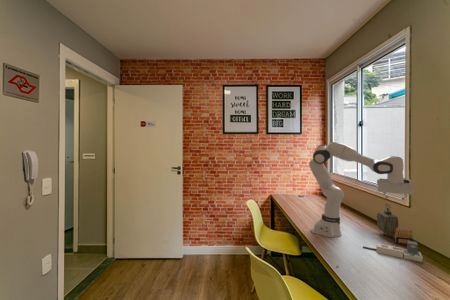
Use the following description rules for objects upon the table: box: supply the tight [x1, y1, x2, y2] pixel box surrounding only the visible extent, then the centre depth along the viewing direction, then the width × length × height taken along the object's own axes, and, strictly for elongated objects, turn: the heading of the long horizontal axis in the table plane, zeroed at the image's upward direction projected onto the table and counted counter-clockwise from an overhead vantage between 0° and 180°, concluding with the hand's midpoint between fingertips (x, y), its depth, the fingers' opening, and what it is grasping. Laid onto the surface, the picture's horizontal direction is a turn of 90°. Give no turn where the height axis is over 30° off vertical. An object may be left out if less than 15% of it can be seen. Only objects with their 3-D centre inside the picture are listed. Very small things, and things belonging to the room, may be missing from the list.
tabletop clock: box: [376, 203, 399, 240], centre depth 182 cm, size 14×9×25 cm, turn 168°
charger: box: [406, 240, 419, 256], centre depth 148 cm, size 5×5×9 cm
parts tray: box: [402, 248, 424, 263], centre depth 148 cm, size 9×9×3 cm
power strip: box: [362, 242, 404, 259], centre depth 155 cm, size 22×6×5 cm, turn 58°
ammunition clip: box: [394, 227, 414, 246], centre depth 167 cm, size 11×2×12 cm, turn 75°
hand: (394, 199), depth 160 cm, fingers open, 8 cm apart
